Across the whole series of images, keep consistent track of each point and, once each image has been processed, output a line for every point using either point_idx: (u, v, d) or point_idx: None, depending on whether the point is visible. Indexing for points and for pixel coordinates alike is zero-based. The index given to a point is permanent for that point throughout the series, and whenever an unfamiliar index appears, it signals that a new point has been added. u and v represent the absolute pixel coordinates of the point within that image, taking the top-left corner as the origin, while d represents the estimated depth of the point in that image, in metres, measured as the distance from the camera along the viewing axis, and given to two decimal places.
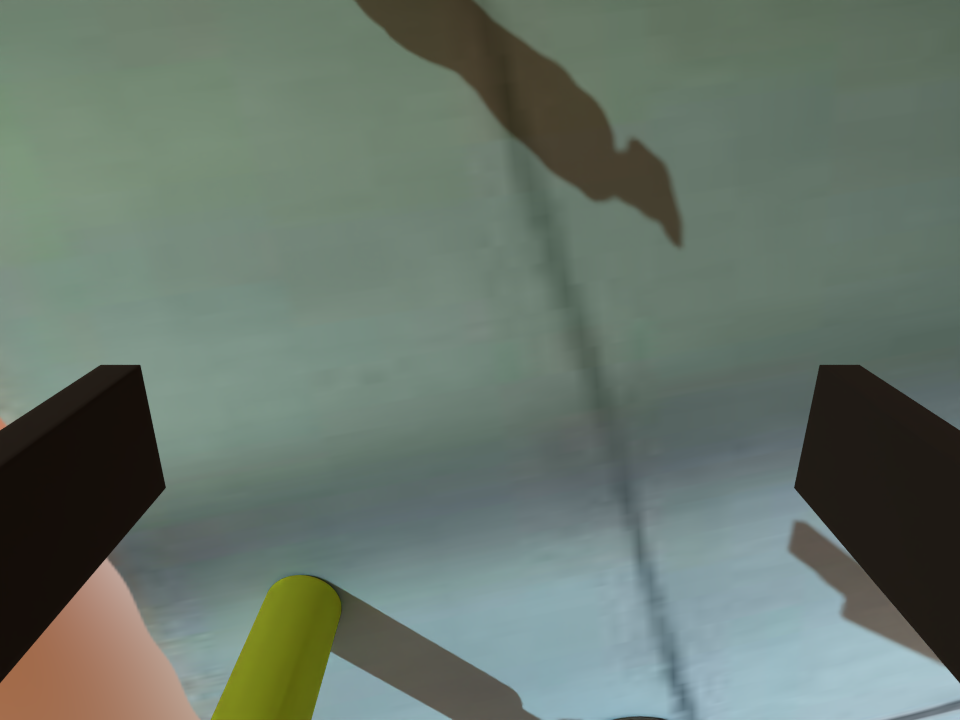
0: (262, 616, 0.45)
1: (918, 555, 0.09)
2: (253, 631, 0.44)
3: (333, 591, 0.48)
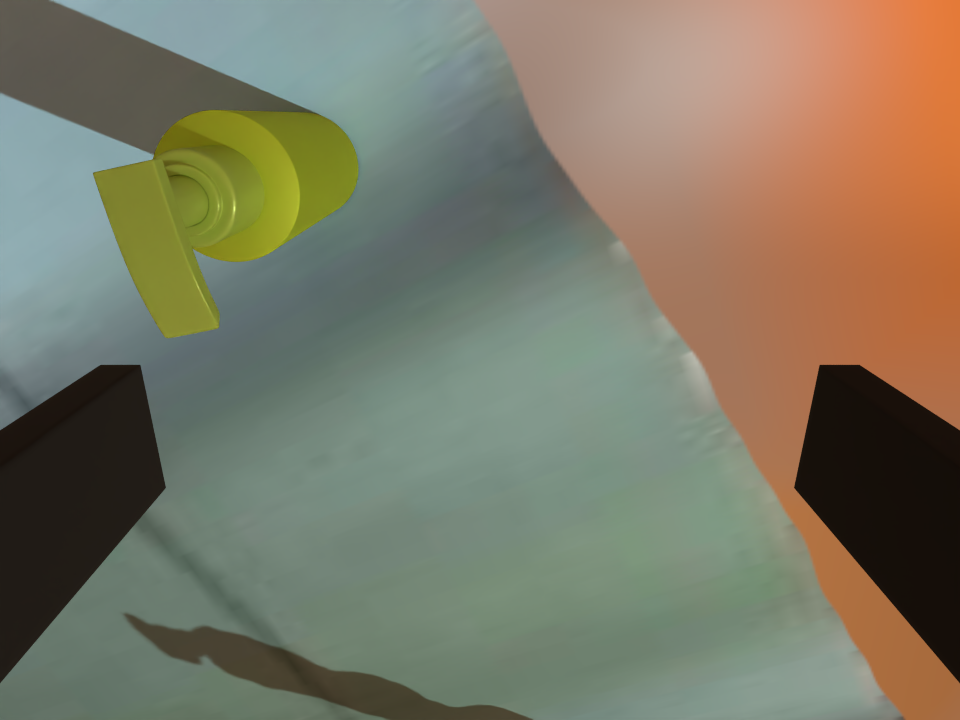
0: (336, 205, 0.35)
1: (918, 555, 0.09)
2: (335, 202, 0.33)
3: None
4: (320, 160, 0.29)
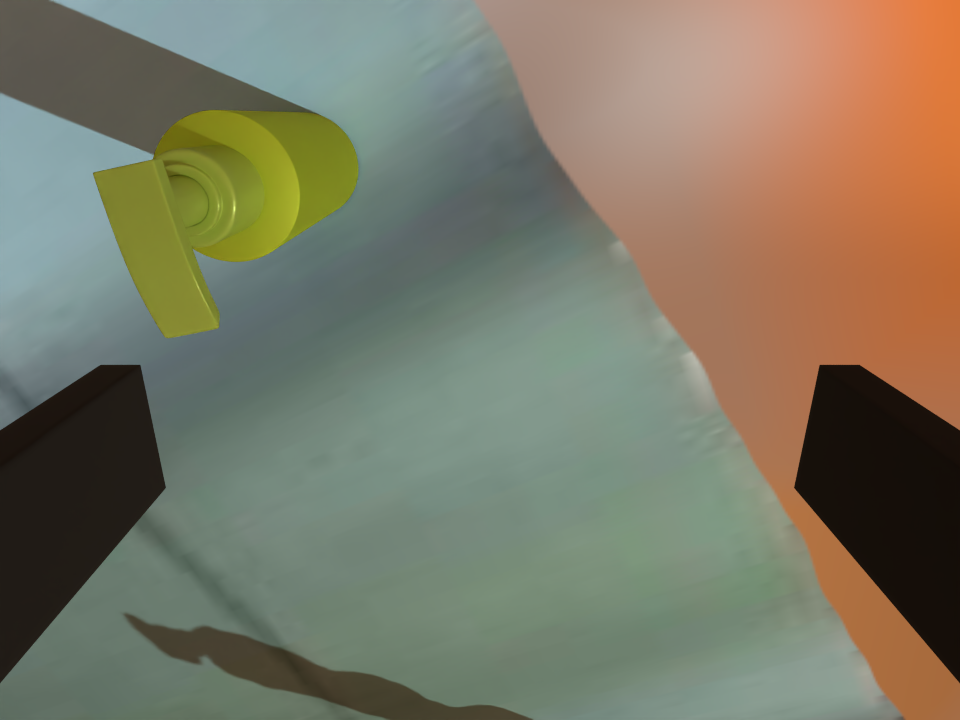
0: (336, 205, 0.35)
1: (918, 555, 0.09)
2: (335, 202, 0.33)
3: None
4: (320, 160, 0.29)
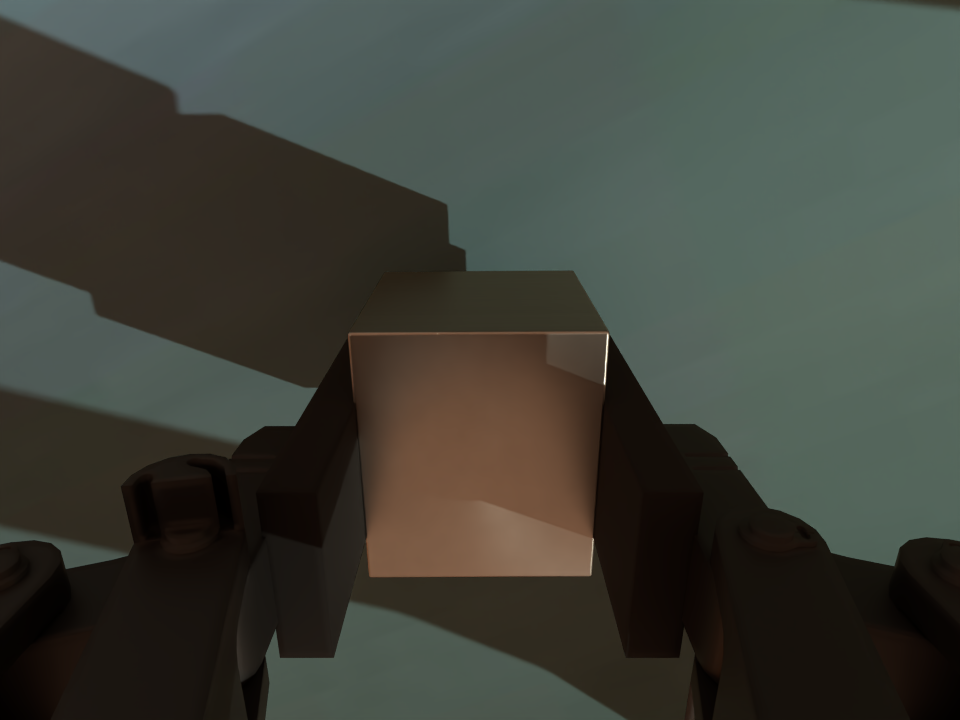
0: None
1: None
2: None
3: None
4: None
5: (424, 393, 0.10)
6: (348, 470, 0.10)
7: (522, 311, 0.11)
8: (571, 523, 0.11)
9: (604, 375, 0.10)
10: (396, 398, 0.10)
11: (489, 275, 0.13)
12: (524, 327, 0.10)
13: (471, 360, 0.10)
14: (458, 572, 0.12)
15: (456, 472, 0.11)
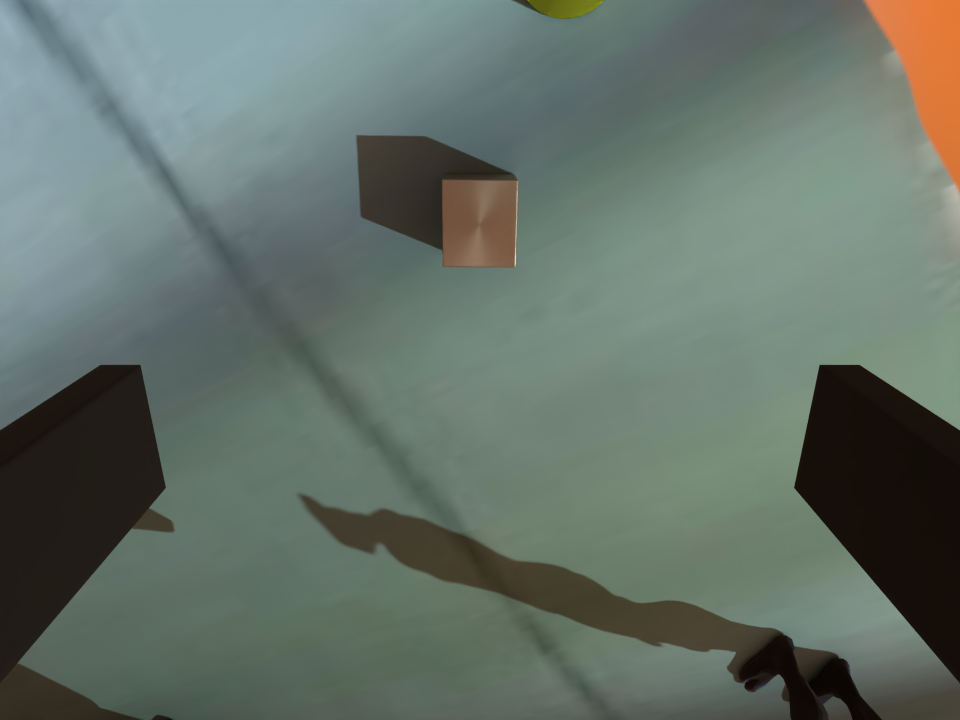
0: None
1: (918, 555, 0.09)
2: None
3: (529, 2, 0.34)
4: None
5: (463, 199, 0.35)
6: None
7: (493, 178, 0.35)
8: (508, 246, 0.35)
9: (517, 194, 0.34)
10: (455, 201, 0.35)
11: (483, 174, 0.38)
12: (493, 179, 0.34)
13: (477, 189, 0.34)
14: (472, 264, 0.36)
15: (472, 226, 0.35)
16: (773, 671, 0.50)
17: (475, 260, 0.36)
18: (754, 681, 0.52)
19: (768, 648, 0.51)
